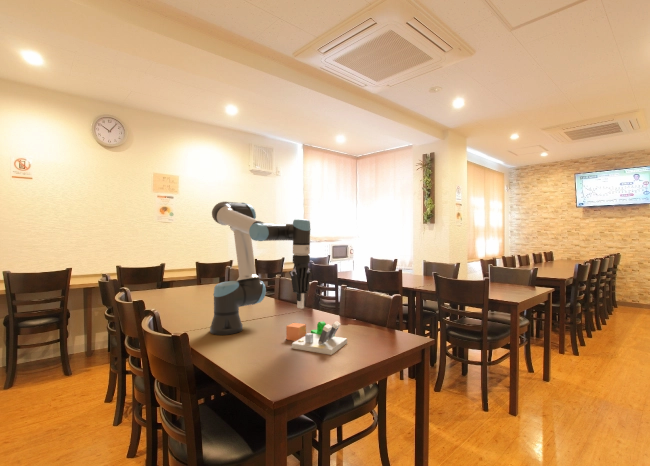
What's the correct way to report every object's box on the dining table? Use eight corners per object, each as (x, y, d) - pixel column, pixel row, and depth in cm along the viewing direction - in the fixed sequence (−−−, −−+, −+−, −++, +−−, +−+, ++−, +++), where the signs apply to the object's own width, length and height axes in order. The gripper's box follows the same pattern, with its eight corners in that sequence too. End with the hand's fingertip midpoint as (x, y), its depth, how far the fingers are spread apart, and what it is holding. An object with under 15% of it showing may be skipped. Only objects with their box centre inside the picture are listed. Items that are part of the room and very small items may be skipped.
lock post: (305, 342, 140) (305, 334, 140) (308, 341, 142) (308, 332, 142) (310, 343, 139) (310, 335, 139) (313, 342, 141) (313, 333, 141)
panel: (291, 348, 139) (291, 343, 139) (310, 337, 154) (310, 332, 154) (330, 355, 131) (330, 349, 131) (347, 343, 146) (347, 337, 146)
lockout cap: (286, 339, 151) (286, 326, 151) (293, 335, 157) (293, 322, 157) (298, 341, 149) (298, 327, 149) (306, 337, 154) (305, 324, 154)
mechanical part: (334, 339, 153) (334, 321, 153) (322, 341, 150) (322, 323, 150) (322, 332, 163) (322, 316, 163) (310, 334, 160) (310, 317, 160)
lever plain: (324, 338, 143) (333, 323, 141) (329, 335, 147) (337, 320, 145) (328, 341, 142) (337, 326, 141) (332, 338, 146) (341, 323, 145)
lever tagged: (317, 343, 137) (323, 326, 135) (321, 340, 141) (328, 323, 139) (321, 346, 136) (328, 328, 135) (326, 342, 140) (332, 326, 139)
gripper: (297, 255, 142) (297, 312, 142) (317, 254, 153) (316, 306, 153) (284, 254, 147) (284, 309, 147) (304, 253, 157) (303, 304, 157)
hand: (300, 307), depth 150 cm, fingers closed
